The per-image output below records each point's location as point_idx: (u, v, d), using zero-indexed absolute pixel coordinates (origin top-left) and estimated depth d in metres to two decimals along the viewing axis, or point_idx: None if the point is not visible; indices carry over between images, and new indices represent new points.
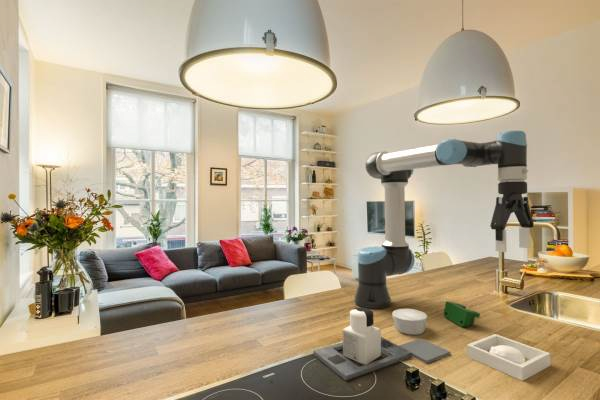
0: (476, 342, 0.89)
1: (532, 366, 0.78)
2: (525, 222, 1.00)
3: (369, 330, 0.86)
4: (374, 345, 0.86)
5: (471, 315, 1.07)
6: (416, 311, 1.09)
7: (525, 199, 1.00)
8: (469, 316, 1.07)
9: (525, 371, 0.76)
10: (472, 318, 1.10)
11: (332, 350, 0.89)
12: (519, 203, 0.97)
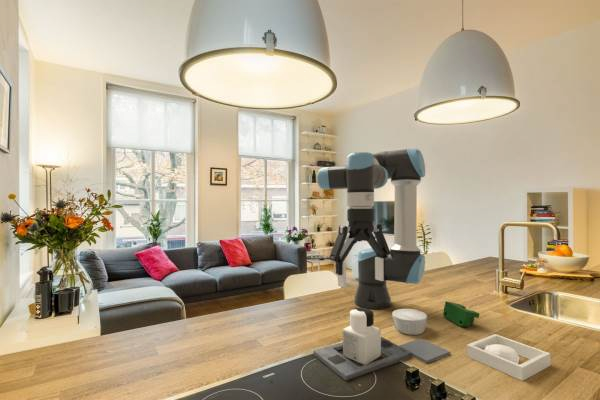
0: (476, 342, 0.89)
1: (532, 366, 0.78)
2: (378, 252, 0.91)
3: (369, 330, 0.86)
4: (374, 345, 0.86)
5: (470, 315, 1.07)
6: (416, 311, 1.09)
7: (378, 227, 0.90)
8: (468, 316, 1.07)
9: (525, 371, 0.76)
10: (471, 318, 1.10)
11: (332, 350, 0.89)
12: (366, 232, 0.88)
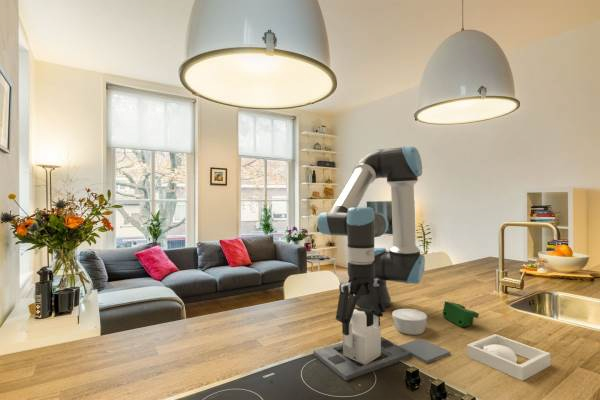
0: (476, 342, 0.89)
1: (532, 366, 0.78)
2: (374, 309, 0.90)
3: (369, 330, 0.86)
4: (374, 345, 0.86)
5: (470, 315, 1.07)
6: (416, 311, 1.09)
7: (378, 282, 0.90)
8: (468, 316, 1.06)
9: (525, 371, 0.76)
10: (471, 318, 1.10)
11: (332, 350, 0.89)
12: (367, 286, 0.87)
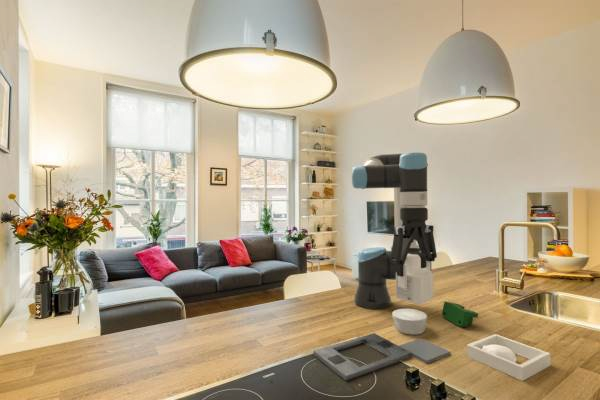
0: (476, 342, 0.89)
1: (532, 366, 0.78)
2: (426, 254, 0.92)
3: (423, 272, 0.88)
4: (428, 287, 0.88)
5: (469, 315, 1.07)
6: (416, 311, 1.09)
7: (430, 228, 0.92)
8: (467, 316, 1.06)
9: (525, 371, 0.76)
10: (470, 318, 1.10)
11: (332, 350, 0.89)
12: (420, 230, 0.89)
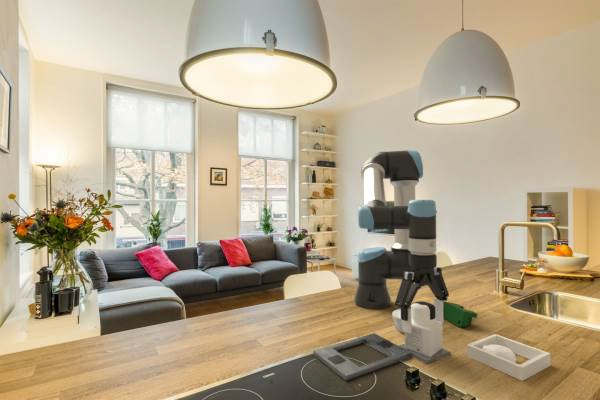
0: (476, 342, 0.89)
1: (532, 366, 0.78)
2: (438, 295, 0.93)
3: (432, 323, 0.88)
4: (437, 338, 0.88)
5: (469, 315, 1.07)
6: None
7: (438, 270, 0.93)
8: (467, 316, 1.06)
9: (525, 371, 0.76)
10: (470, 318, 1.10)
11: (332, 350, 0.89)
12: (429, 277, 0.90)
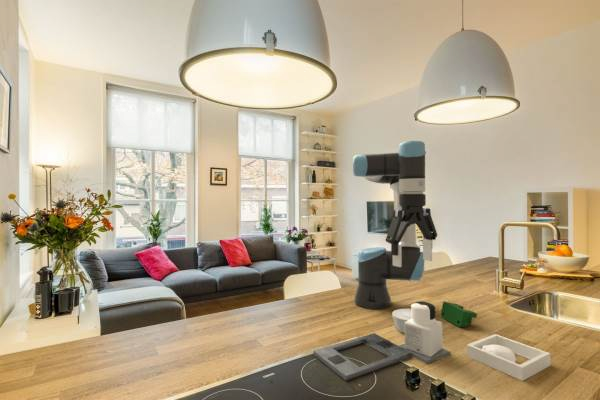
0: (476, 342, 0.89)
1: (532, 366, 0.78)
2: (427, 234, 0.97)
3: (432, 323, 0.88)
4: (437, 338, 0.88)
5: (468, 315, 1.07)
6: None
7: (427, 211, 0.97)
8: (466, 316, 1.06)
9: (525, 371, 0.76)
10: (469, 318, 1.10)
11: (332, 350, 0.89)
12: (418, 216, 0.94)
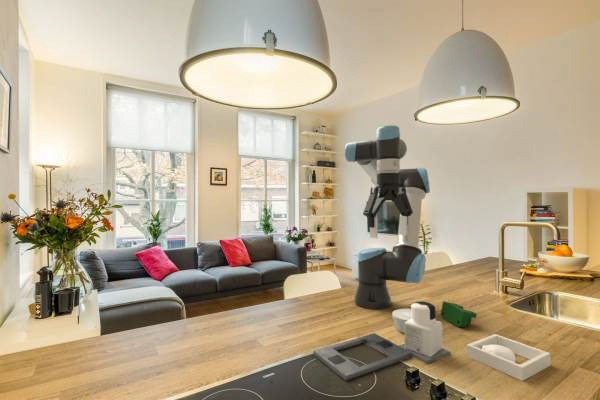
0: (476, 342, 0.89)
1: (532, 366, 0.78)
2: (403, 211, 1.07)
3: (432, 323, 0.88)
4: (437, 338, 0.88)
5: (468, 315, 1.07)
6: None
7: (402, 189, 1.07)
8: (466, 316, 1.06)
9: (525, 371, 0.76)
10: (469, 318, 1.10)
11: (332, 350, 0.89)
12: (394, 193, 1.04)
